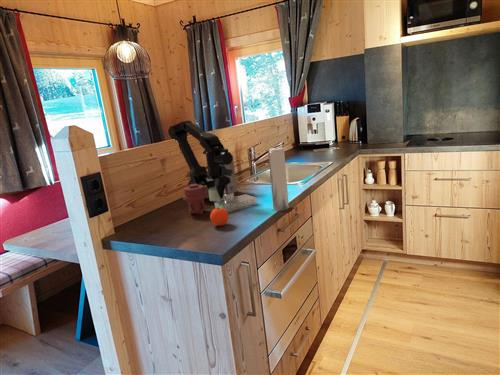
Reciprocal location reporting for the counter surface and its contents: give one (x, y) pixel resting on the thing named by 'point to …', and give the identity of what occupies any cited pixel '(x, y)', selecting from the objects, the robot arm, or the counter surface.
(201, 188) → the mechanical component
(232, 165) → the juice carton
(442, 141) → the counter surface
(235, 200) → the beige rectangular block
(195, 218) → the counter surface
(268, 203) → the counter surface
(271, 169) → the tall grey block
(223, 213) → the clementine
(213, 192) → the collar
